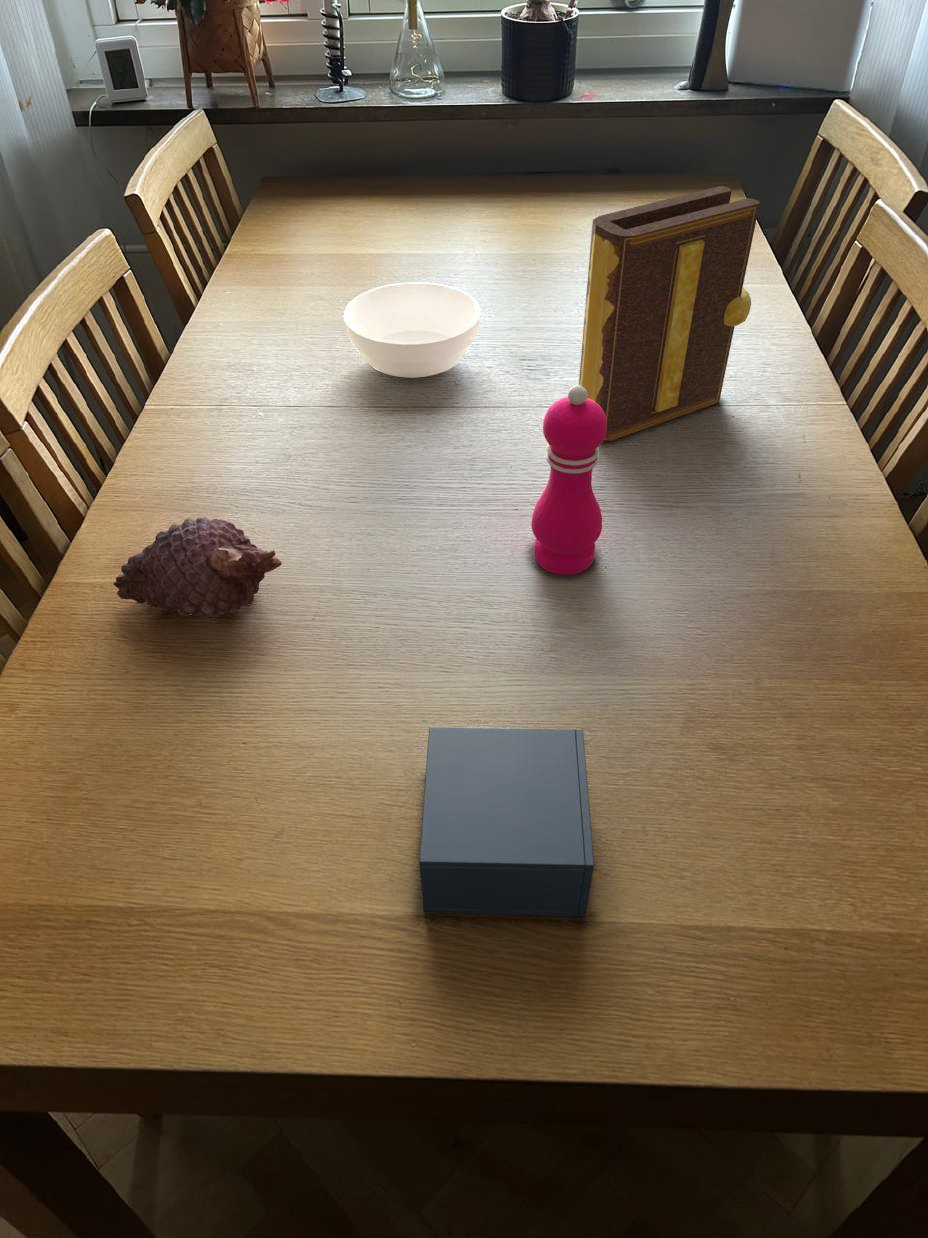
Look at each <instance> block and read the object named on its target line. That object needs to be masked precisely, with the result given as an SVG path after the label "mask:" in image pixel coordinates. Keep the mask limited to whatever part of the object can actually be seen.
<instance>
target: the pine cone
mask: <svg viewBox="0 0 928 1238" xmlns="http://www.w3.org/2000/svg"><path fill="white" fill-rule="evenodd" d="M282 564H283V562H282V560H280V559H279V558H278V557H276V551H275V550H274V549H273V550H271V551H268V550H263V549H262V548H259V547H258V546H257V545H256V544H254V543H252V542H251V540H250V538H249V537H248V536H247V535H245V531H244V530H243V529H242V528H237V527H236V525H235V524H234V523H233V522H230V521H227V520H225V519H222V518H221V519H218V518H214V519H209V518H207V517H197V518H196V519H193V518H191V517H188V518H186V519H184V520H183V522H182V523H181V524H179V523H173V524H171V525H169V528H168V530H167V531H165V530H162V531H160V532H157V533H156V535H155V540H154V541H153V542H152V543H151V544H149V545H147V546H146V547H144V548H143V549H142V551H141V552H138V553H135V554H134V555H133V556H131V555H130V556H129V557H128V558H127V563H125V564H123V565H122V566H121V569H120V571H121V573H122V574H118V575H117V576H116V577H115V581H114V582H113V583H112V584H113V586H114V587H115V588H117V589H118V590H117V592H116V595H117V596H118V597H119V598H120V599H121V600H133V601H135V602H136V603H137V604H147V606H149V607H153V608H159V609H161V610H164V611H171V610H176V611H177V612H178V614H179V615H181V616H186V617H187V616H190V615H191V616H194V617H196V618H197V619H198V618H200V619H206V618H209V617H211V616H215V617H219V616H221V615H225V614H227V613H228V614H235V613H237V612H238V611H240V610H241V608H242V607H246V606H247V605H248V606H249V605H251V604H252V603H253V602H254V597H255V595H256V594H258V592H259V590H260V583H261V582H262V581H263V580H264V579H265V577H266V576H265V575H266V573H270V572H272V571H274V570H276V569H278V568H279V567H281V566H282Z"/></svg>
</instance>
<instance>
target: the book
mask: <svg viewBox="0 0 928 1238" xmlns="http://www.w3.org/2000/svg"><path fill="white" fill-rule="evenodd" d="M732 191H733V189H731V188H730V187H727V186H724V185H719V186H715V187H711V188H706V189H702V190H699V191H695V192H690V193H687V194H683V195H680V196H675V197H670V198H666V199H661V200H658V201H655V202H650V203H646V204H642V205H638V206H634V207H630V208H626V209H622V210H618V211H614V212H610V213H605V214H602V215H601V214H600V215H598V216H596V217H595V218H594V219H592V224H591V233H590V234H591V236H590V247H589V258H588V271H587V280H586V281H587V282H586V283H587V284H586V293H585V294H586V295H585V304H584V305H585V307H584V317H583V330H582V341H581V342H582V343H581V352H580V365H579V377H578V385H579V386H582V387H584V388H585V389H586V391H587V398H589V399H591V400H593V401H595V402H596V403H597V404H598V405H599V406H600V407H601V408H602V410H603V411H604V413H605V416H606V420H607V432H606V437H605V439H604V441H603V442H602V443H607V442H613V441H617V440H619V439H621V438H624V437H628V436H629V435H632V434H636V433H638V432H641V431H644V430H647V429H649V428H652V427H655V426H658V425H661V424H664V423H667V422H669V421H672V420H674V419H678V418H681V417H683V416H686V415H688V414H692V413H695V412H697V411H700V410H703V409H705V408H708V407H712V406H714V405H717V404H719V403H720V399H721V396H722V391H723V386H724V381H725V375H726V370H727V365H728V360H729V356H730V350H731V346H732V341H733V337H734V333H735V327H737V326H739V325H741V324H743V323H744V322H746V320H747V319H748V316H749V314H750V312H751V307H752V297H751V294H750V293H749V292H748V291H747V290H746V289H745V287H744V282H745V277H746V273H747V268H748V263H749V257H750V253H751V249H752V245H753V244H752V243H753V239H754V233H755V229H756V225H757V218H758V216H759V215H758V214H759V209H760V204H761V203H760V201H759V200H757V199H754V198H751V197H747V198H744V199H739V200H735V201H732V202H730V201H731V197H732Z"/></svg>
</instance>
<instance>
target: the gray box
mask: <svg viewBox="0 0 928 1238" xmlns="http://www.w3.org/2000/svg"><path fill="white" fill-rule="evenodd" d="M584 736H585V735H584V729H582V728H576V729H575V728H528V727H527V728H524V727H523V728H520V727H519V728H518V727H514V728H513V727H464V726H463V727H460V726H459V727H457V726H455V727H454V726H453V727H452V726H429V727H428V737H427V750H426V762H425V763H426V765H425V778H424V791H423V792H424V793H423V806H422V818H421V830H420V831H421V832H420V833H421V834H420V846H419V860H418V863H419V872H420V873H419V874H420V875H419V877H420V886H421V887H420V888H421V899H422V911H423V913H424V914H426V913H428V914H467V915H469V914H471V915H472V914H473V915H510V916H511V915H514V916H515V915H516V916H517V915H518V916H519V915H520V916H562V917H563V916H565V917H566V916H567V917H586V916H587V914H588V913H587V912H588V906H589V899H590V893H591V888H592V881H593V875H594V868H595V860H594V858H595V857H594V848H593V846H594V845H593V835H592V824H591V823H592V822H591V811H590V797H589V786H588V775H587V774H588V772H587V771H588V770H587V761H586V749H585V737H584Z"/></svg>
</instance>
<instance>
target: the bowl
mask: <svg viewBox="0 0 928 1238" xmlns="http://www.w3.org/2000/svg"><path fill="white" fill-rule="evenodd" d="M480 320H481V307H480V305H479V304H478V302H477V300H476V299H475V298H474V297H473V296H471V295H470V294H468V293H467V292H466V291H463V290H461V289H458V288H456V287H452V286H449V285H445V284H438V283H431V282H402V283H401V282H400V283H393V284H387V285H383V286H379V287H376V288H373V289H369V290H368V291H365V292H363V293H361V294H359V295H358V296H356V297H354V298H353V299H352V300H351V301H350V302H349V303H348V304H347V306H346V307H345V309H344V313H343V321H344V325H345V328H346V332H347V334H348V338H349V341H350V343H351V345H353V347H354V348H355V349H356V350H357V352H358V354H359V356H360V357H361V358H362V359H363V360H364V361H365V362H366V363H367V364H368V365H370V367H372V368H373V369H374V370H376V371H378V372H381V374H385V375H388V376H393V377H397V378H398V377H399V378H424V377H430V376H436V375H438V374H441V373H445V372H446V371H448V370H450V369H452V368H453V367H455V366H456V365H458V364H459V363H460V361H461V360H462V359H463V358H464V357H465V356H466V354H467V353H468V352H469V350H470V347H471V345H472V344H473V343H474V341H475V340H476V337H477V334H478V331H479V326H480Z"/></svg>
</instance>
